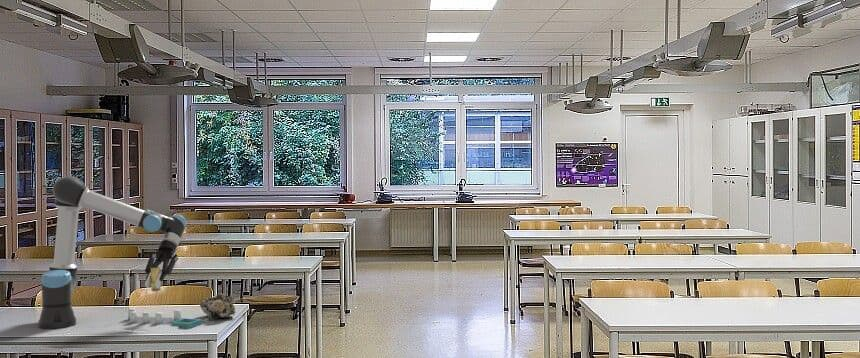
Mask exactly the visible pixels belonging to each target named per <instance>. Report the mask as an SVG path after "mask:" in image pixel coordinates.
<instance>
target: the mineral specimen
mask: <svg viewBox="0 0 860 358" xmlns="http://www.w3.org/2000/svg"><path fill="white" fill-rule="evenodd" d="M198 305H199V307H200V309H201V311H202V312H203V313H204V314H206V315H207V317H208V318H209V319H212V320H214V319H219V318H222V319H224V318H225V319H226V318H228V317H229V316H235V314H236V308H235V305H234V297H232V296H231V295H226V294H225V293H219V294H218V295H215V296H211V297H210V296H209V297H206V298H203V299H202V300H201V302H200V303H199V304H198Z"/></svg>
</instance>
